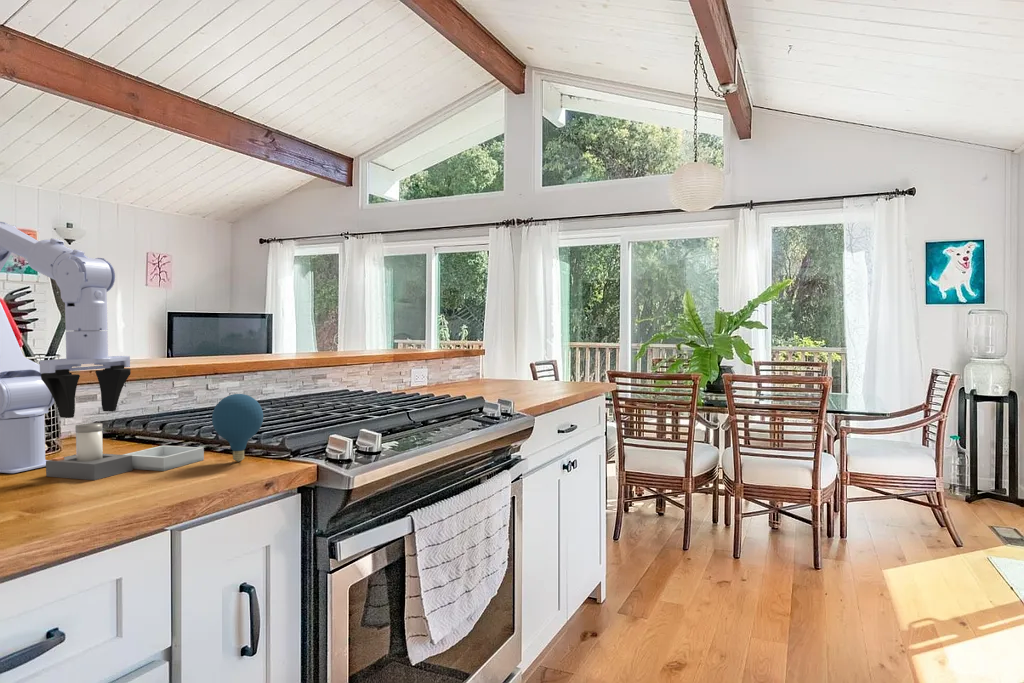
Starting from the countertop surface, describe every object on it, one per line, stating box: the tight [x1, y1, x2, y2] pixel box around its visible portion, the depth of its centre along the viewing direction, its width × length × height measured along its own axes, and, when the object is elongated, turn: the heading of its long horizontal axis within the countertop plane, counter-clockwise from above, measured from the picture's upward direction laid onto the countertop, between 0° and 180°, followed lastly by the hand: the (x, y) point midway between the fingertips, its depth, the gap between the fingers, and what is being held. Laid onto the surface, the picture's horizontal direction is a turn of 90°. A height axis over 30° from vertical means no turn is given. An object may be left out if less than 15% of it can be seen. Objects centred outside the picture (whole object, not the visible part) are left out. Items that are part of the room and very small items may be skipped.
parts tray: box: [122, 444, 205, 472], centre depth 112 cm, size 9×9×2 cm
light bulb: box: [211, 393, 264, 463], centre depth 114 cm, size 8×8×12 cm
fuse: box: [74, 422, 104, 462], centre depth 105 cm, size 4×4×8 cm
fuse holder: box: [45, 453, 133, 481], centre depth 105 cm, size 10×7×3 cm
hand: (88, 414), depth 105 cm, fingers open, 7 cm apart
